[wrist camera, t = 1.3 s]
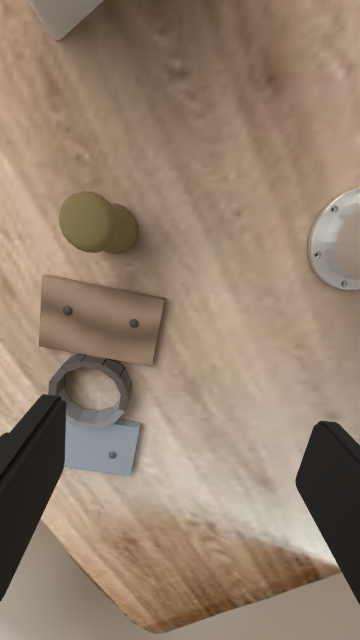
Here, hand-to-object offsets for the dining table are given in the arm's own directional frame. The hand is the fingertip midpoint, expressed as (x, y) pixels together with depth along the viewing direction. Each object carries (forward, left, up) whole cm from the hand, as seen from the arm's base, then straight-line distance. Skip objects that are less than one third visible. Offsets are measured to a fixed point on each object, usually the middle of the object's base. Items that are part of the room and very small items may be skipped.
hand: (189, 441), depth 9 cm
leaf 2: (+24, -10, -26) cm, 37 cm away
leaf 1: (+9, -10, -26) cm, 29 cm away
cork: (-7, -10, -26) cm, 29 cm away
